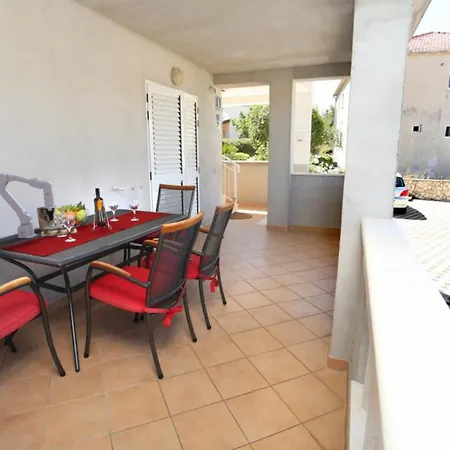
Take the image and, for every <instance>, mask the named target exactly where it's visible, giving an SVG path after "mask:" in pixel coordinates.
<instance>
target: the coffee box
mask: <svg viewBox="0 0 450 450" xmlns="http://www.w3.org/2000/svg"><path fill="white" fill-rule="evenodd" d="M46 209H47V208H45V206H41V207H36V213H37V220H38V226H39V227H38V228H39V230H40V231H41V230H42V231H43V228H44V226H48V225H56V223H55V222H56V221H55V215H54V216H53V220H52V221H50V220H49V217H48V215H47V213H46V212H45V210H46ZM55 229H56V228H54V229H49V231H53V230H55Z"/></svg>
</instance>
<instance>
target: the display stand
mask: <svg viewBox="0 0 450 450" xmlns="http://www.w3.org/2000/svg"><path fill="white" fill-rule="evenodd" d="M67 230H68V229H62V228H56V230H49V229H44V228H43V230H42V231H41V235H40V236H41V237H51V236H61V235H60V234H62V235H69V234H68V231H67ZM77 233H78V231H77V228H75V226H74V225H73V227H72V228H71V234H77Z"/></svg>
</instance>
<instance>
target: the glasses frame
mask: <svg viewBox="0 0 450 450" xmlns="http://www.w3.org/2000/svg"><path fill="white" fill-rule="evenodd" d="M58 218H59V217H58ZM58 218H57V217H56V218H55V222H56V223H55V225H48V226H44V229H52V230H55V229H57V228H61V229H62V228H65V227H63V226H62V225H63V224H61V220H60V221H59V219H58ZM54 228H55V229H54Z"/></svg>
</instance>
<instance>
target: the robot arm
mask: <svg viewBox="0 0 450 450" xmlns="http://www.w3.org/2000/svg"><path fill="white" fill-rule="evenodd" d="M9 182H18V183H23V184H27V185H29V187H32V188H36V189H39V190H42V192H43V193H42V194H43V200H44V207H45V208H47V209H46V210H45V212H46V213H47V215H48V217H49V220H50V221H52V220H53V216H54V217H55V211H56V210H55V209H56V207H57V205H55V201H54V192H53V189H52V188H53V184H52V183H51V182H50V181H48V180H47V181H46V180H45V179H44V180H42V179H38V178H37V177H32V178H27V177H23V176H20V175H17V174H14V173H7V172H1V173H0V196H1V197H2V199H3V200H4V201H5V202H6V203H7V204H8V206H10V208H11V209H12V210H13V211H14V212H15V213H16V216H17V217H18V219H19V222H20V225H19V226H17V234H18V235H17V238H18V239H30V238H33V237H36V236H37V235H38V234H37V233H35V230H34V229H35V228H34V223H33V220H32V219H33V215H32V214H31V212H28V211H27V210H26V209H24V208H23V207H22V205H21V204H20V203H19V202H18V201H17V199H15V197H14V196H13V195H12V193H11V192H9V190H8V183H9Z"/></svg>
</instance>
